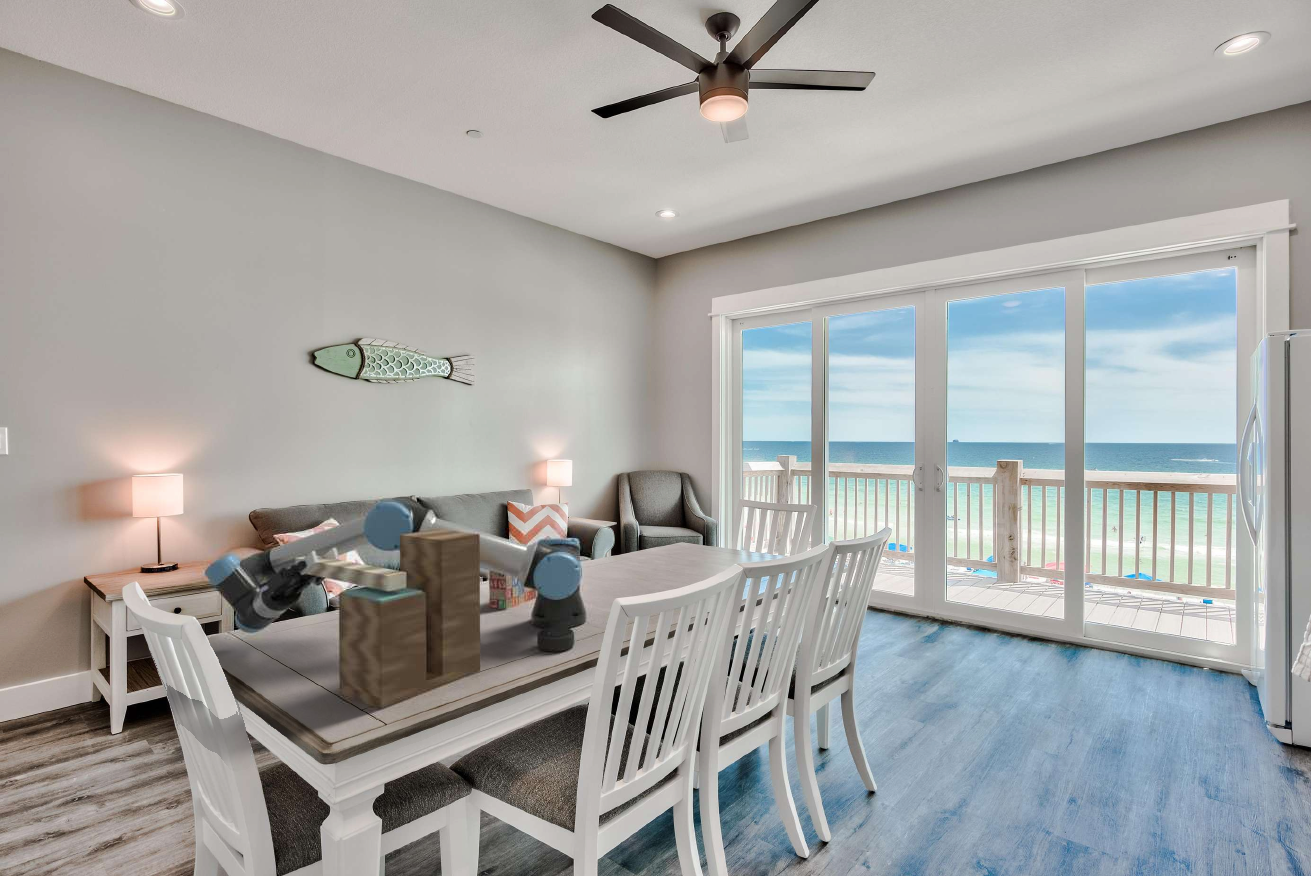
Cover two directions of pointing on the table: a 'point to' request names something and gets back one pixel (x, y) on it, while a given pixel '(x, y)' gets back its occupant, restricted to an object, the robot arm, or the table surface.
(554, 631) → the smart speaker
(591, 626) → the table surface
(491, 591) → the stack of blocks
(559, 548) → the robot arm
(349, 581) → the birch bar
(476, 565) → the oak stand
